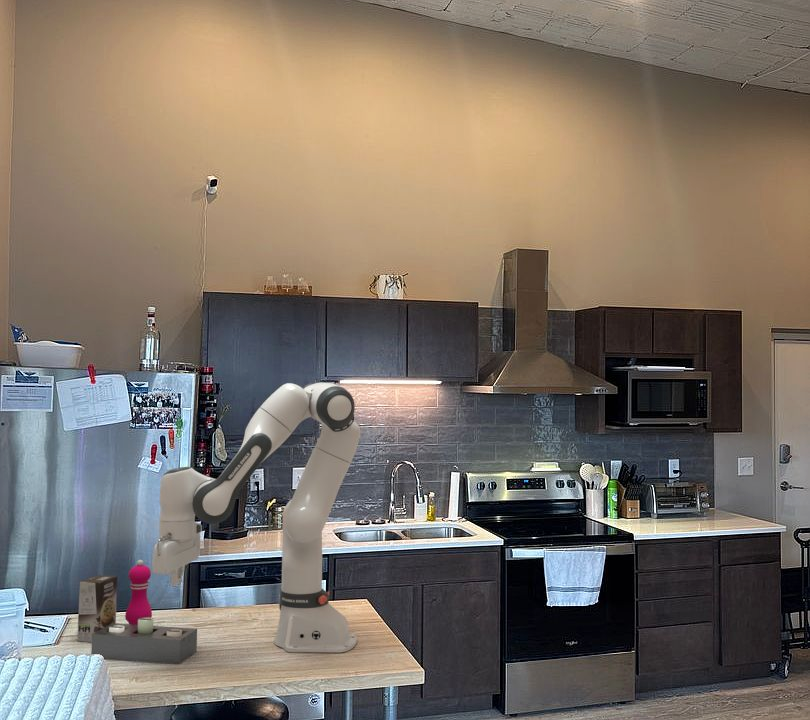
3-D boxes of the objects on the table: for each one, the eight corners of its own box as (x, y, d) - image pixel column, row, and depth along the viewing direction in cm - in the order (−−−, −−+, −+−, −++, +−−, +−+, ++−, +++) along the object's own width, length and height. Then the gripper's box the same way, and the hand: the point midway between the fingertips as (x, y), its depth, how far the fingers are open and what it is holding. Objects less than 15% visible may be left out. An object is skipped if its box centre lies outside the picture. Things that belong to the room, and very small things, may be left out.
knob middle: (155, 635, 207) (156, 617, 207) (148, 639, 203) (148, 621, 203) (141, 634, 208) (142, 616, 208) (134, 638, 204) (135, 620, 204)
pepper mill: (146, 634, 222) (148, 562, 223) (120, 634, 222) (122, 562, 223) (155, 627, 229) (157, 557, 230) (130, 626, 230) (132, 556, 231)
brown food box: (97, 643, 214) (99, 582, 215) (76, 641, 216) (78, 581, 216) (116, 633, 223) (118, 575, 224) (95, 631, 225) (97, 573, 225)
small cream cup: (126, 643, 208) (127, 625, 208) (119, 647, 204) (119, 629, 205) (113, 642, 209) (113, 624, 209) (105, 646, 205) (106, 628, 205)
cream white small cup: (184, 647, 206) (184, 629, 206) (177, 651, 202) (177, 633, 202) (170, 646, 206) (170, 628, 206) (163, 650, 202) (164, 632, 203)
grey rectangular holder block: (196, 651, 208) (197, 628, 208) (179, 664, 198) (180, 640, 199) (112, 645, 212) (112, 623, 212) (91, 657, 202) (92, 633, 203)
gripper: (169, 538, 195) (169, 595, 194) (204, 524, 215) (204, 576, 214) (145, 537, 196) (145, 594, 195) (182, 523, 216) (182, 575, 215)
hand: (176, 584), depth 205 cm, fingers closed
